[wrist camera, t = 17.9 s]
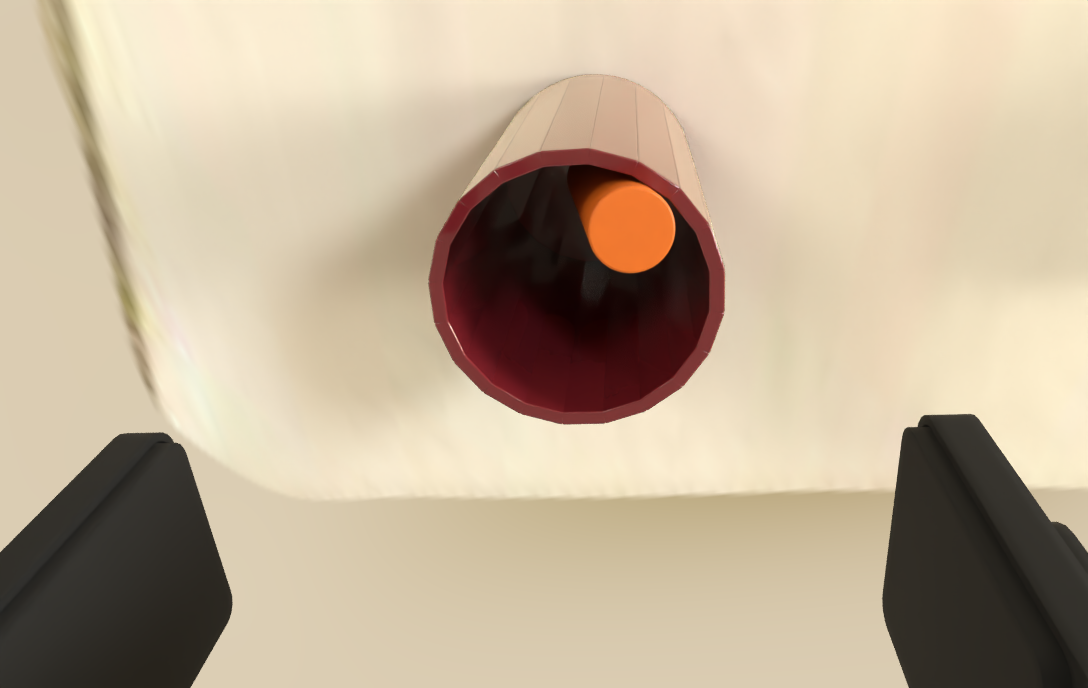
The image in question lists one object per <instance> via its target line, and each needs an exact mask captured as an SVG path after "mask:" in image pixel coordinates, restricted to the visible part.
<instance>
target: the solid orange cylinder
mask: <svg viewBox="0 0 1088 688" xmlns="http://www.w3.org/2000/svg"><path fill="white" fill-rule="evenodd" d="M567 184H568V187H569V190H570V193H571V195H572V198H573V201H574V203H575V206H576V209H577V211H578V214H579V217H580V219H581V222H582V225H583V227H584V230H585V233H586V235H587V238H588V241H589V243H590V246H591V248H592V250H593V252H594V254H595V255H596V257H597V258H598V259H599V260H600V261H601V262H602V263H603V264H604V265H606V266H607V267H609V268H611V269H613V270H615V271H618V272H622V273H638V272H642V271H646V270H648V269H650V268H652V267H654V266H655V265H657V264H658V263H659V262H660V261H661V260H662V259H664V257H665V256H666V255H667V253H668V252H669V250H670V248H671V246H672V244H673V241H674V236H675V220H674V216H673V213H672V210H671V209H670V207H669V205H668V204H667V202H666V201H665V200H664V199H663V198H662V197H661V196H660V195H659V194H657V193H656V192H655V191H653V190H652V189H651V188H650V187H648V186H647V185H645V184H644V183H642V182H641V181H639V180H637V179H636V178H634V177H633V176H631V175H627V174H623V173H619V172H615V171H612V170H608V169H604V168H600V167H596V166H592V165H588V164H587V165H570V167H569V169H568V173H567Z"/></svg>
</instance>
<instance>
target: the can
mask: <svg viewBox="0 0 1088 688" xmlns="http://www.w3.org/2000/svg"><path fill="white" fill-rule="evenodd" d="M587 164H588V165H592V166H596V167H600V168H604V169H608V170H612V171H615V172H619V173H623V174H627V175H631V176H633V177H634V178H636V179H637V180H639V181H641V182H642V183H644V184H645V185H647V186H648V187H650V188H651V189H652V190H653V191H655V192H656V193H657V194H659V195H660V196H661V197H662V198H663V199H664V200H665V201H666V202H667V204H668V205H669V207H670V209H671V210H672V213H673V216H674V220H675V236H674V241H673V244H672V246H671V248H670V250H669V252H668V253H667V255H666V256H665V257H664V259H662V260H661V261H660V262H659V263H658V264H657V265H655V266H654V267H652V268H650V269H648V270H646V271H642V272H638V273H622V272H618V271H615V270H613V269H611V268H609V267H607V266H606V265H604V264H603V263H602V262H601V261H600V260H599V259H598V258H597V257H596V255H595V254H594V252H593V250H592V248H591V246H590V243H589V241H588V238H587V235H586V233H585V230H584V227H583V225H582V222H581V219H580V217H579V214H578V211H577V209H576V206H575V203H574V201H573V198H572V195H571V193H570V190H569V187H568V184H567V173H568V169H569V167H570V165H587ZM428 280H429V282H428V284H429V291H430V298H431V304H432V311H433V318H434V323H435V326H436V328H437V330H438V332H439V334H440V336H441V338H442V340H443V342H444V344H445V346H446V348H447V350H448V352H449V354H450V356H451V358H452V360H453V361H454V362H455V364H456V365H457V366H458V367H459V368H460V369H461V370H462V371H463V372H464V373H465V374H466V375H467V376H468V377H469V378H470V379H471V380H472V381H473V382H474V383H475V385H476V386H477V387H478V388H479V389H480V390H481V391H482V392H484V393H485V394H487V395H488V396H490V397H492V398H494V399H495V400H497V401H499V402H501V403H502V404H504V405H506V406H508V407H509V408H511V409H513V410H515V411H516V412H518V413H521V414H523V415H527V416H531V417H535V418H539V419H543V420H547V421H551V422H554V423H558V424H562V423H563V424H604V423H605V422H606V423H609V422H612V421H615V420H619V419H622V418H625V417H628V416H631V415H635V414H638V413H641V412H644V411H646V410H649V409H650V408H652V407H653V406H655V405H656V404H658V403H659V402H661V401H662V400H664V399H665V398H667V397H668V396H670V395H671V394H673V393H674V392H676V391H677V390H679V389H680V388H681V387H682V386H684V385H685V383H686V382H687V381H688V380H689V378H690V377H691V376H692V375H693V373H694V372H695V371H696V370H697V368H698V367H699V366H700V365H701V363H702V362H703V361H704V360H705V358H706V357H707V356H708V355H709V353H710V351H711V348H712V346H713V343H714V340H715V337H716V335H717V332H718V329H719V326H720V324H721V321H722V318H723V315H724V311H725V268H724V263H723V260H722V256H721V253H720V250H719V246H718V243H717V239H716V236H715V233H714V229H713V226H712V222H711V219H710V216H709V212H708V209H707V206H706V202H705V199H704V195H703V192H702V189H701V185H700V182H699V179H698V175H697V172H696V168H695V165H694V162H693V158H692V155H691V152H690V149H689V146H688V143H687V140H686V138H685V135H684V132H683V129H682V127H681V125H680V124H679V122H678V120H677V119H676V117H675V116H674V115H673V113H672V112H671V110H670V109H669V108H668V107H667V106H666V105H665V104H664V103H663V102H662V101H661V100H660V99H659V98H658V97H657V96H655V95H654V94H653V93H652V92H650V91H649V90H647V89H645V88H644V87H642V86H640V85H639V84H636V83H634V82H632V81H629V80H627V79H623V78H619V77H616V76H609V75H602V74H589V75H581V76H575V77H571V78H568V79H564V80H561V81H559V82H557V83H555V84H552V85H550V86H549V87H547V88H545V89H544V90H542V91H540V92H539V93H538V94H536V95H535V96H534V97H533V98H531V99H530V100H529V101H528V102H527V103H526V104H525V105H524V106H523V107H522V108H521V109H520V110H519V111H518V112H517V114H516V115H515V117H514V118H513V120H512V121H511V123H510V124H509V126H508V127H507V129H506V130H505V132H504V133H503V134H502V136H501V137H500V139H499V140H498V142H497V143H496V145H495V146H494V148H493V149H492V151H491V152H490V154H489V155H488V157H487V158H486V160H485V161H484V163H483V164H482V166H481V167H480V169H479V170H478V172H477V173H476V175H475V176H474V178H473V179H472V181H471V182H470V184H469V185H468V187H467V188H466V190H465V191H464V193H463V194H462V196H461V197H460V198H459V200H458V202H457V203H456V205H455V207H454V208H453V210H452V212H451V214H450V215H449V217H448V219H447V220H446V222H445V224H444V226H443V227H442V229H441V231H440V233H439V234H438V236H437V239H436V242H435V247H434V252H433V258H432V263H431V268H430V273H429V279H428Z"/></svg>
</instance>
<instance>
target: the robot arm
mask: <svg viewBox="0 0 1088 688" xmlns="http://www.w3.org/2000/svg"><path fill="white" fill-rule="evenodd" d="M882 599H883V613H884V618H885V622H886V626H887V629H888V632H889V634H890V637H891V640H892V643H893V645H894V648H895V650H896V654H897V656H898V659H899V662H900V665H901V667H902V670H903V673H904V675H905V678H906V681H907V684H908V686H909V688H1088V552H1087V551H1086V550H1085V548H1084V547H1083V546H1082V544H1081V543H1080V542H1079V540H1078V539H1077V537H1076V536H1075V535H1074V534H1073V533H1072V531H1070V529H1068V527H1067V526H1066V525H1063V524H1061V523H1058V522H1051V521H1050V520H1049V519H1048V517H1047V516H1046V514H1045V513H1044V511H1043V510H1042V509H1041V507H1040V506H1039V504H1038V503H1037V502H1036V500H1035V499H1034V497H1033V496H1032V494H1031V493H1030V492H1029V490H1028V489H1027V487H1026V486H1025V484H1024V483H1023V482H1022V480H1021V479H1020V477H1019V476H1018V474H1017V473H1016V472H1015V470H1014V469H1013V467H1012V466H1011V464H1010V463H1009V462H1008V460H1007V459H1006V457H1005V456H1004V454H1003V453H1002V452H1001V450H1000V449H999V447H998V446H997V445H996V443H995V442H994V440H993V439H992V437H991V436H990V435H989V433H988V432H987V430H986V429H985V427H984V426H983V425H982V423H981V422H980V420H979V419H978V418H977V417H976V416H975V415H972V414H958V415H924V416H923V417H921V419H920V421H919V423H918V427H907V428H906V429H905V430H904V432H903V436H902V442H901V450H900V458H899V466H898V475H897V483H896V491H895V499H894V507H893V515H892V523H891V531H890V539H889V547H888V555H887V564H886V571H885V579H884V588H883V598H882ZM231 611H232V594H231V590H230V587H229V584H228V581H227V578H226V575H225V572H224V569H223V566H222V562H221V559H220V557H219V553H218V550H217V547H216V544H215V541H214V538H213V535H212V532H211V529H210V526H209V522H208V519H207V516H206V513H205V510H204V507H203V504H202V501H201V498H200V495H199V492H198V489H197V486H196V482H195V479H194V476H193V473H192V470H191V467H190V464H189V461H188V457H187V455H186V452H185V450H184V448H183V447H182V446H181V445H180V444H178V443H174V442H173V440H172V439H171V437H170V436H169V435H167V434H165V433H127V434H120V435H118V436H117V437H115V438H114V439H113V440H112V441H111V442H110V443H109V444H108V445H107V446H106V447H105V448H104V449H103V450H102V451H101V452H100V453H99V454H98V455H97V456H96V457H95V458H94V459H93V460H92V461H91V462H90V463H89V464H88V465H87V466H86V467H85V468H84V469H83V470H82V471H81V472H80V473H79V474H78V475H77V476H76V477H75V478H74V479H73V480H72V481H71V482H70V483H69V484H68V485H67V486H66V487H65V488H64V489H63V490H62V491H61V492H60V493H59V494H58V495H57V496H56V497H55V498H54V499H53V500H52V501H51V502H50V503H49V504H48V505H47V506H46V507H45V508H44V509H43V510H42V511H41V512H40V513H39V514H38V515H37V516H36V517H35V518H34V519H33V520H32V521H31V522H30V523H29V524H28V525H27V526H26V527H25V528H24V529H23V530H22V531H21V532H20V533H19V534H18V535H17V536H16V537H15V538H14V539H13V540H12V541H11V542H10V543H9V544H8V545H7V546H6V547H5V548H4V549H3V550H2V551H1V552H0V688H190V687H191V686H192V684H193V682H194V680H195V679H196V677H197V675H198V674H199V672H200V670H201V668H202V667H203V664H204V663H205V661H206V660H207V658H208V656H209V654H210V652H211V651H212V649H213V647H214V646H215V644H216V642H217V640H218V639H219V637H220V635H221V633H222V632H223V630H224V628H225V626H226V625H227V623H228V621H229V618H230V615H231Z"/></svg>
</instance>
